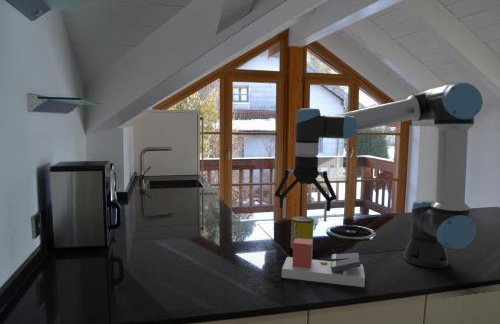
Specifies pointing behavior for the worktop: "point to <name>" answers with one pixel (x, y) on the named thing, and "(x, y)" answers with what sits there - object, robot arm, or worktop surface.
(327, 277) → the panel
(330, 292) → the worktop surface
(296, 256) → the red rectangular block
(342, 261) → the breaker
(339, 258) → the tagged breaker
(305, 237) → the beverage can
